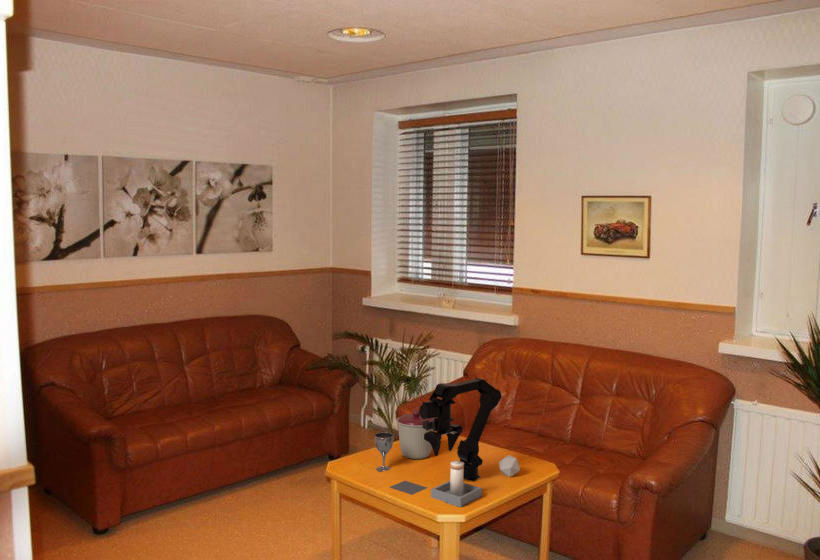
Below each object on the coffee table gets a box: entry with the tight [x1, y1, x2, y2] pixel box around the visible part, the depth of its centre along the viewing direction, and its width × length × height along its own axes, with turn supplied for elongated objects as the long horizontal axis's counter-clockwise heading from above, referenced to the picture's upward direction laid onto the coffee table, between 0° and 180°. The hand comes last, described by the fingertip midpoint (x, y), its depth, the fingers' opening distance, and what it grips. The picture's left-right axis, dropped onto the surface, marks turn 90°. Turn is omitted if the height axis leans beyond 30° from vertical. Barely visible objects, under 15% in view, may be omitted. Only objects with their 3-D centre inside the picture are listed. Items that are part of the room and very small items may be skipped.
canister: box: [395, 409, 435, 460], centre depth 331 cm, size 18×18×21 cm
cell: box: [449, 460, 464, 497], centre depth 283 cm, size 5×5×14 cm
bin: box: [430, 480, 483, 508], centre depth 283 cm, size 14×14×4 cm
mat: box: [388, 480, 428, 496], centre depth 292 cm, size 10×12×1 cm
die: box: [498, 454, 521, 477], centre depth 309 cm, size 8×9×10 cm
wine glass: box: [374, 431, 394, 473], centre depth 313 cm, size 8×8×15 cm
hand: (443, 453), depth 295 cm, fingers open, 9 cm apart
